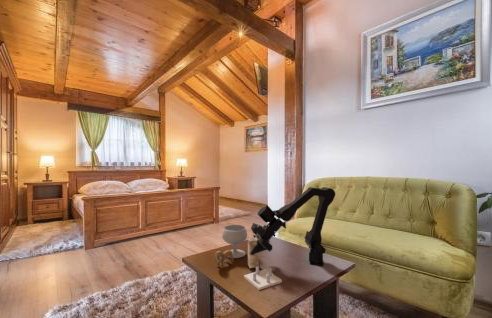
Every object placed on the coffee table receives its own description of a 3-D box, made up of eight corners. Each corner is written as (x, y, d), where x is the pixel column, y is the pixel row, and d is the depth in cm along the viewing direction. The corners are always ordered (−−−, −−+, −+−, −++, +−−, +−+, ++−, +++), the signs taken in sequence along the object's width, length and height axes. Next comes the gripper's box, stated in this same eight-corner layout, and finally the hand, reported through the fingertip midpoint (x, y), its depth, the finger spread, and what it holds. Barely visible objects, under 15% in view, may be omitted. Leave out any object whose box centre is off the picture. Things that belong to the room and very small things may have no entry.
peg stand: (265, 271, 112) (265, 262, 112) (281, 282, 101) (281, 273, 101) (244, 277, 106) (244, 268, 106) (258, 290, 95) (258, 280, 95)
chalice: (247, 259, 124) (247, 231, 124) (220, 259, 125) (220, 231, 125) (247, 249, 138) (247, 224, 138) (223, 249, 139) (223, 224, 139)
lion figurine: (220, 272, 110) (220, 253, 111) (211, 270, 113) (211, 251, 113) (236, 260, 124) (236, 243, 124) (227, 258, 126) (227, 241, 126)
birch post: (256, 263, 118) (256, 237, 118) (258, 267, 113) (258, 240, 113) (247, 264, 117) (247, 237, 117) (249, 268, 112) (249, 241, 112)
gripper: (256, 213, 125) (236, 235, 123) (265, 222, 107) (241, 248, 105) (270, 227, 126) (250, 249, 124) (282, 238, 108) (259, 264, 106)
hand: (250, 252), depth 115 cm, fingers closed on birch post, 4 cm apart
